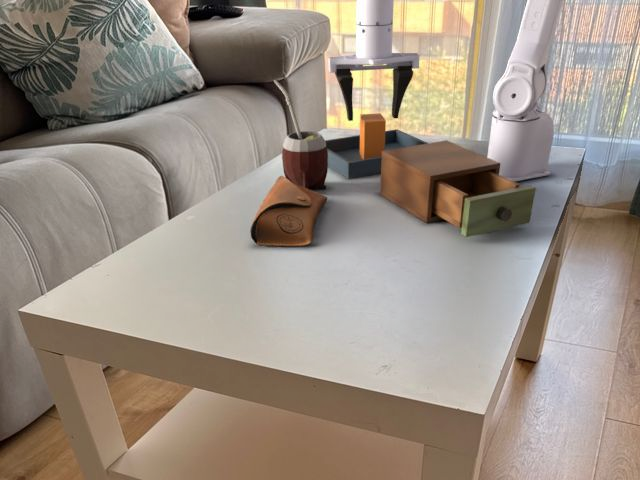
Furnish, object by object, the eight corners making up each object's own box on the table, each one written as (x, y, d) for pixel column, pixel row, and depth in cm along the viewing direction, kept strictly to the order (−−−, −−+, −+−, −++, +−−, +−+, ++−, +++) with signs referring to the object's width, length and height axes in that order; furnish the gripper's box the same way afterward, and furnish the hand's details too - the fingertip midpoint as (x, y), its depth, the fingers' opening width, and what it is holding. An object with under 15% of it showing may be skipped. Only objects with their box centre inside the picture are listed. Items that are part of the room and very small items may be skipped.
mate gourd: (328, 196, 98) (326, 88, 88) (277, 197, 98) (270, 89, 88) (328, 180, 104) (326, 77, 94) (280, 181, 104) (273, 79, 94)
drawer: (535, 226, 84) (542, 190, 81) (471, 240, 81) (476, 203, 78) (475, 195, 94) (479, 162, 91) (415, 207, 91) (418, 173, 88)
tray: (396, 143, 119) (397, 129, 118) (437, 162, 109) (438, 147, 108) (313, 156, 114) (312, 142, 113) (348, 178, 104) (348, 163, 102)
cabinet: (494, 209, 91) (500, 163, 87) (426, 223, 88) (430, 176, 84) (442, 182, 101) (446, 140, 97) (380, 194, 98) (381, 151, 94)
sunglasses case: (315, 243, 82) (286, 198, 79) (271, 268, 85) (242, 226, 82) (329, 196, 96) (305, 156, 93) (291, 219, 99) (266, 181, 96)
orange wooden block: (379, 152, 113) (380, 113, 109) (384, 161, 109) (385, 120, 105) (359, 153, 113) (360, 114, 109) (363, 162, 109) (364, 121, 105)
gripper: (331, 29, 95) (332, 126, 104) (426, 24, 96) (419, 121, 104) (326, 23, 101) (328, 116, 109) (416, 19, 101) (411, 111, 110)
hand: (372, 118), depth 107 cm, fingers open, 7 cm apart
